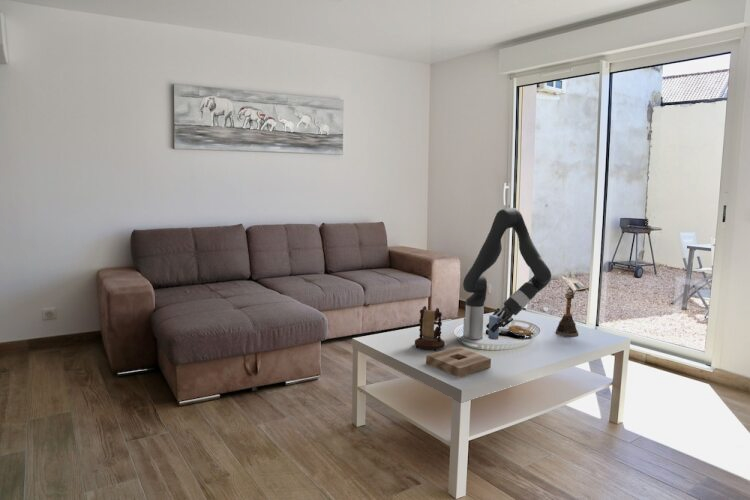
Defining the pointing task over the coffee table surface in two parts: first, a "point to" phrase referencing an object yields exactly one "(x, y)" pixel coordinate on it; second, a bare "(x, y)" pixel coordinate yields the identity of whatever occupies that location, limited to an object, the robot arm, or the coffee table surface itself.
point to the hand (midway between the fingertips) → (489, 329)
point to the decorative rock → (520, 330)
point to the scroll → (430, 330)
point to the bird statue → (567, 323)
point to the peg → (492, 322)
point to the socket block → (458, 361)
